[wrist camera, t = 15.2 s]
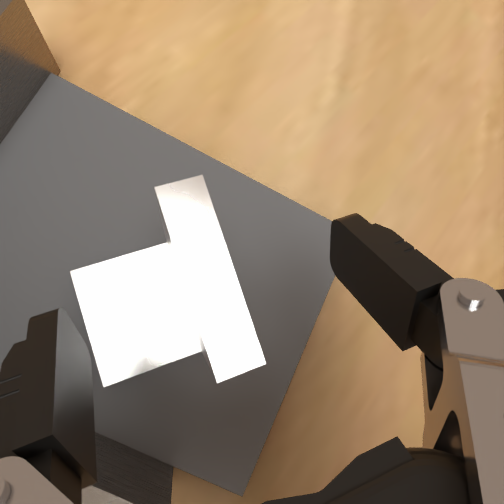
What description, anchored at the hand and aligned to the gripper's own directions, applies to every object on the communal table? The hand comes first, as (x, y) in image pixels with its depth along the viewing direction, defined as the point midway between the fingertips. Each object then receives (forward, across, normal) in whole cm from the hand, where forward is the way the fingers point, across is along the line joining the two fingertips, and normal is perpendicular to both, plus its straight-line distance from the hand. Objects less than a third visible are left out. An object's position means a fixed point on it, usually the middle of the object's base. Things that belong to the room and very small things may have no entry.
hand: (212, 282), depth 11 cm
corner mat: (+9, +2, +6) cm, 11 cm away
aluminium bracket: (+7, +2, +7) cm, 10 cm away
